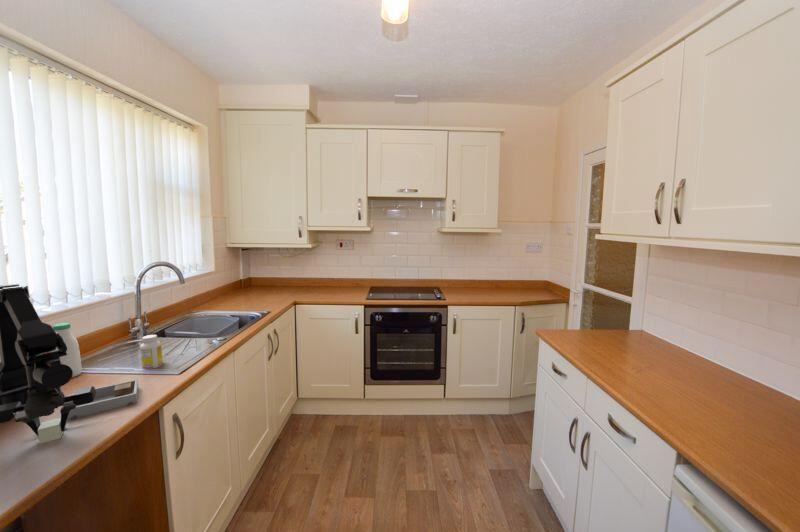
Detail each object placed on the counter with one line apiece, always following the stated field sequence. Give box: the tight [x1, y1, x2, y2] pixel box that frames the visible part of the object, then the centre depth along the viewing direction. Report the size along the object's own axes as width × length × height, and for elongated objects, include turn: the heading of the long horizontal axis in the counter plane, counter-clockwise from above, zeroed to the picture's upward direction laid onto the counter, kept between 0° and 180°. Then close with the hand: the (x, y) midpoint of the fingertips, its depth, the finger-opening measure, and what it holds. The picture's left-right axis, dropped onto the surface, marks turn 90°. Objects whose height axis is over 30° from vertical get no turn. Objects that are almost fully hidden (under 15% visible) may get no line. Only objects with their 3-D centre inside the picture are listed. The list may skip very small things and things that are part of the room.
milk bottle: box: [51, 322, 83, 378], centre depth 128 cm, size 8×8×20 cm
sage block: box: [37, 417, 65, 445], centre depth 92 cm, size 4×4×4 cm
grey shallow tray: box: [67, 379, 139, 421], centre depth 108 cm, size 16×13×4 cm
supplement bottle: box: [139, 334, 164, 370], centre depth 136 cm, size 7×7×13 cm
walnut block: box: [114, 382, 132, 398], centre depth 111 cm, size 4×4×4 cm
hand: (51, 433), depth 92 cm, fingers closed on sage block, 4 cm apart
